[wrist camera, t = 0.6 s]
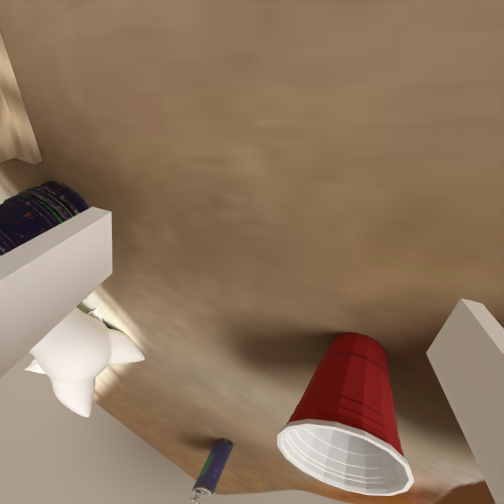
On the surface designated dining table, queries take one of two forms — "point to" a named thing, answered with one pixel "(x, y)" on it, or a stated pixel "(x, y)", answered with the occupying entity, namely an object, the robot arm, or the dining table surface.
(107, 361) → the fox head
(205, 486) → the flask
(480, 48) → the dining table surface
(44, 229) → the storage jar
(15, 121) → the plinth
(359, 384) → the plastic cup
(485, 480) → the robot arm
